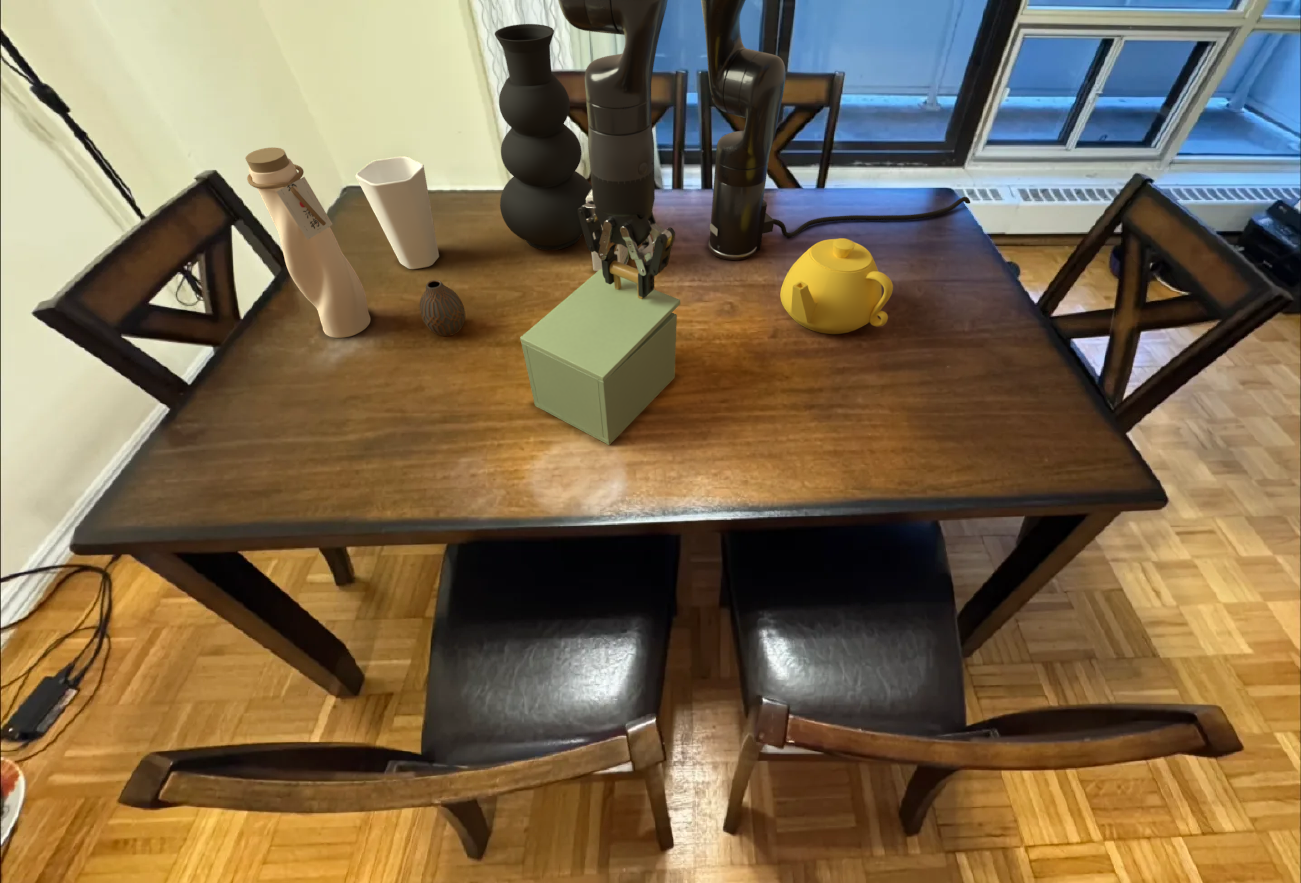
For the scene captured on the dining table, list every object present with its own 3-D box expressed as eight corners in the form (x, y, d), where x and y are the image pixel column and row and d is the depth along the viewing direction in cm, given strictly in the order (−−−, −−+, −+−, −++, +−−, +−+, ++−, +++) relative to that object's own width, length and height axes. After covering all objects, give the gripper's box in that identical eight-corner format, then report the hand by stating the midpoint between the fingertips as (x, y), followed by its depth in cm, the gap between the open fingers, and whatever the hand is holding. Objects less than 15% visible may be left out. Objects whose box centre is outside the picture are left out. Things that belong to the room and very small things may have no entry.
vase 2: (492, 256, 114) (443, 45, 87) (527, 210, 125) (493, 13, 99) (583, 268, 111) (560, 54, 84) (610, 220, 122) (597, 19, 96)
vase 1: (433, 346, 96) (416, 301, 89) (423, 323, 100) (406, 278, 93) (474, 334, 98) (461, 289, 91) (463, 311, 102) (449, 267, 95)
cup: (446, 241, 117) (421, 153, 105) (452, 267, 111) (425, 177, 98) (388, 250, 115) (355, 162, 102) (390, 278, 109) (355, 187, 96)
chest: (603, 345, 96) (598, 282, 87) (674, 377, 90) (677, 314, 82) (534, 405, 87) (520, 342, 78) (609, 445, 81) (603, 382, 72)
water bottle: (392, 314, 101) (324, 147, 80) (359, 346, 96) (276, 175, 75) (343, 303, 104) (264, 137, 83) (308, 333, 98) (213, 163, 77)
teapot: (814, 271, 109) (829, 206, 100) (906, 315, 101) (932, 248, 91) (746, 318, 100) (756, 250, 91) (840, 370, 91) (862, 302, 82)
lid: (601, 272, 86) (597, 242, 82) (680, 304, 81) (680, 273, 77) (521, 342, 78) (512, 312, 74) (603, 382, 72) (599, 352, 68)
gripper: (691, 166, 67) (686, 291, 80) (593, 138, 73) (603, 259, 86) (654, 193, 63) (656, 319, 76) (554, 160, 69) (571, 284, 82)
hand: (628, 287), depth 81 cm, fingers closed on lid, 5 cm apart
